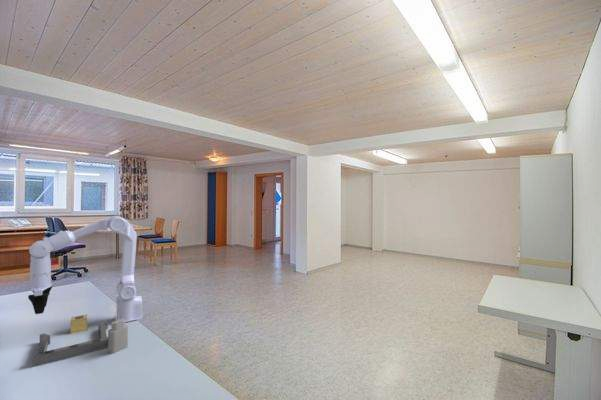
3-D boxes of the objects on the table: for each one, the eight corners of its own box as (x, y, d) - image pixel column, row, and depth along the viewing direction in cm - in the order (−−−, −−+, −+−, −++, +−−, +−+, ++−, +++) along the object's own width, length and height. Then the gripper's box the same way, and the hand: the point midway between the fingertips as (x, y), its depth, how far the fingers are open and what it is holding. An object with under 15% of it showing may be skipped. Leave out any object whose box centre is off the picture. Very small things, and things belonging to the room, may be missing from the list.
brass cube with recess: (87, 326, 116) (87, 314, 116) (87, 330, 113) (87, 317, 113) (71, 330, 113) (71, 317, 113) (70, 333, 110) (70, 320, 110)
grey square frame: (107, 327, 115) (107, 320, 115) (110, 347, 100) (110, 338, 100) (39, 342, 103) (39, 333, 103) (31, 367, 88) (31, 356, 88)
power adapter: (107, 351, 97) (107, 315, 97) (123, 344, 102) (123, 310, 102) (112, 354, 96) (112, 317, 95) (128, 346, 100) (128, 312, 100)
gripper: (29, 271, 111) (29, 306, 111) (22, 279, 99) (22, 319, 99) (53, 268, 115) (53, 302, 115) (49, 276, 103) (49, 314, 103)
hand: (40, 310), depth 107 cm, fingers open, 7 cm apart
